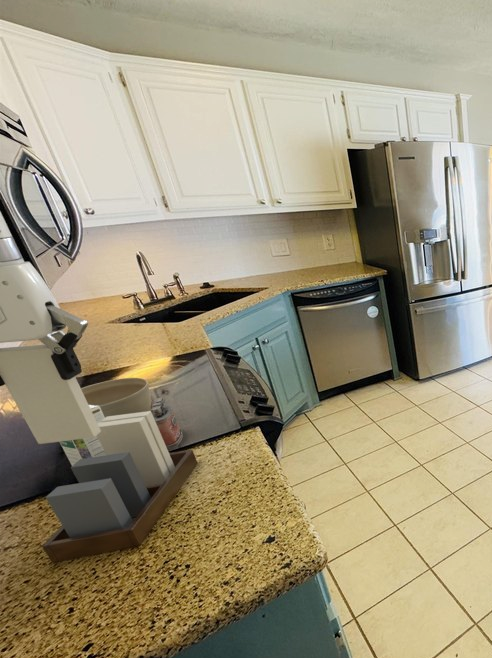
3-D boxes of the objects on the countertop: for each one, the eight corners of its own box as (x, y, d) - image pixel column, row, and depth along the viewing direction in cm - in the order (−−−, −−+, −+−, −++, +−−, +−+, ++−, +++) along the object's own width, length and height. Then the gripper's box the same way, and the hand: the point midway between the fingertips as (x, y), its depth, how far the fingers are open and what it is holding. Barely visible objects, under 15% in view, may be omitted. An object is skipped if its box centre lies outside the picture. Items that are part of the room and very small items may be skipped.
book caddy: (52, 563, 64) (41, 546, 62) (133, 473, 84) (126, 459, 82) (140, 545, 66) (131, 529, 65) (197, 463, 87) (192, 449, 85)
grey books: (77, 551, 66) (41, 492, 61) (109, 513, 73) (80, 459, 68) (129, 541, 67) (98, 483, 62) (155, 505, 75) (129, 451, 70)
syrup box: (76, 477, 83) (42, 415, 77) (108, 460, 88) (79, 401, 82) (97, 481, 82) (64, 419, 76) (128, 463, 87) (100, 404, 81)
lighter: (179, 446, 93) (163, 408, 89) (161, 451, 91) (144, 412, 87) (184, 430, 99) (170, 393, 95) (167, 434, 97) (151, 397, 93)
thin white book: (38, 444, 62) (-13, 352, 56) (47, 438, 63) (-2, 348, 57) (94, 437, 63) (50, 347, 57) (101, 431, 65) (59, 343, 59)
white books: (126, 494, 78) (92, 427, 72) (137, 481, 81) (106, 416, 75) (168, 487, 80) (139, 421, 74) (178, 474, 83) (151, 410, 77)
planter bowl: (82, 429, 100) (62, 389, 96) (165, 409, 109) (149, 372, 105) (68, 460, 88) (44, 417, 84) (162, 435, 97) (144, 394, 93)
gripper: (-151, 262, 47) (-63, 398, 54) (37, 255, 51) (96, 382, 58) (-84, 253, 53) (-13, 376, 61) (78, 248, 58) (126, 363, 65)
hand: (40, 378), depth 59 cm, fingers closed on thin white book, 7 cm apart
